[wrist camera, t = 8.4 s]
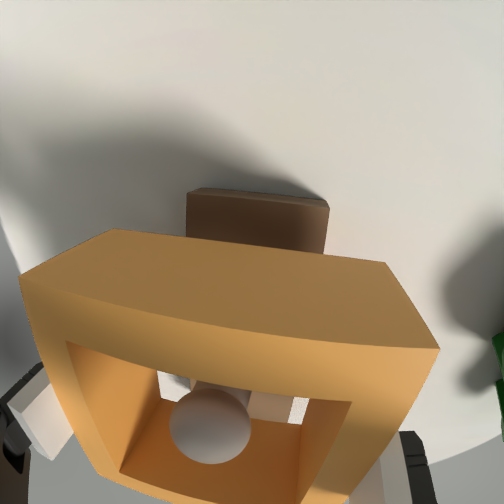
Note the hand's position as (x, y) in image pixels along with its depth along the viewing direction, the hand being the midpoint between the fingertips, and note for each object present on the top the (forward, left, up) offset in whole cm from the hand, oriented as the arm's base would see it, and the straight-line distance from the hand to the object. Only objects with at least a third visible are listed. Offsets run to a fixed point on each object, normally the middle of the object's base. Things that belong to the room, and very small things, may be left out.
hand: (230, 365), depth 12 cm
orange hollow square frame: (0, 0, 0) cm, 0 cm away
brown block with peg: (+1, 0, -5) cm, 5 cm away
